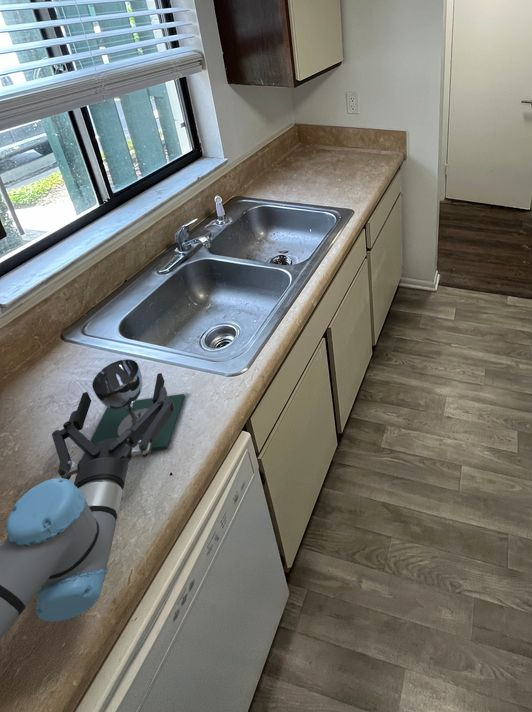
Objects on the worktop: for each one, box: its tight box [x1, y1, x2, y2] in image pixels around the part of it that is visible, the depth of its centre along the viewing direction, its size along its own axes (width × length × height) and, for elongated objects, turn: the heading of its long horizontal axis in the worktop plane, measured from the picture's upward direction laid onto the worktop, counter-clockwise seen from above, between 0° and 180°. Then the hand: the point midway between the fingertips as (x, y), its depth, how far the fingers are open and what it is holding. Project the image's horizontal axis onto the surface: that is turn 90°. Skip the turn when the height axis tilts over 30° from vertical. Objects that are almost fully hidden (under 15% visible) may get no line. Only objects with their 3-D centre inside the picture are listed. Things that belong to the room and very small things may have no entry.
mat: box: [81, 393, 186, 459], centre depth 94 cm, size 16×12×1 cm
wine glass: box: [91, 358, 149, 440], centre depth 90 cm, size 8×8×15 cm
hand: (125, 386), depth 91 cm, fingers open, 13 cm apart
